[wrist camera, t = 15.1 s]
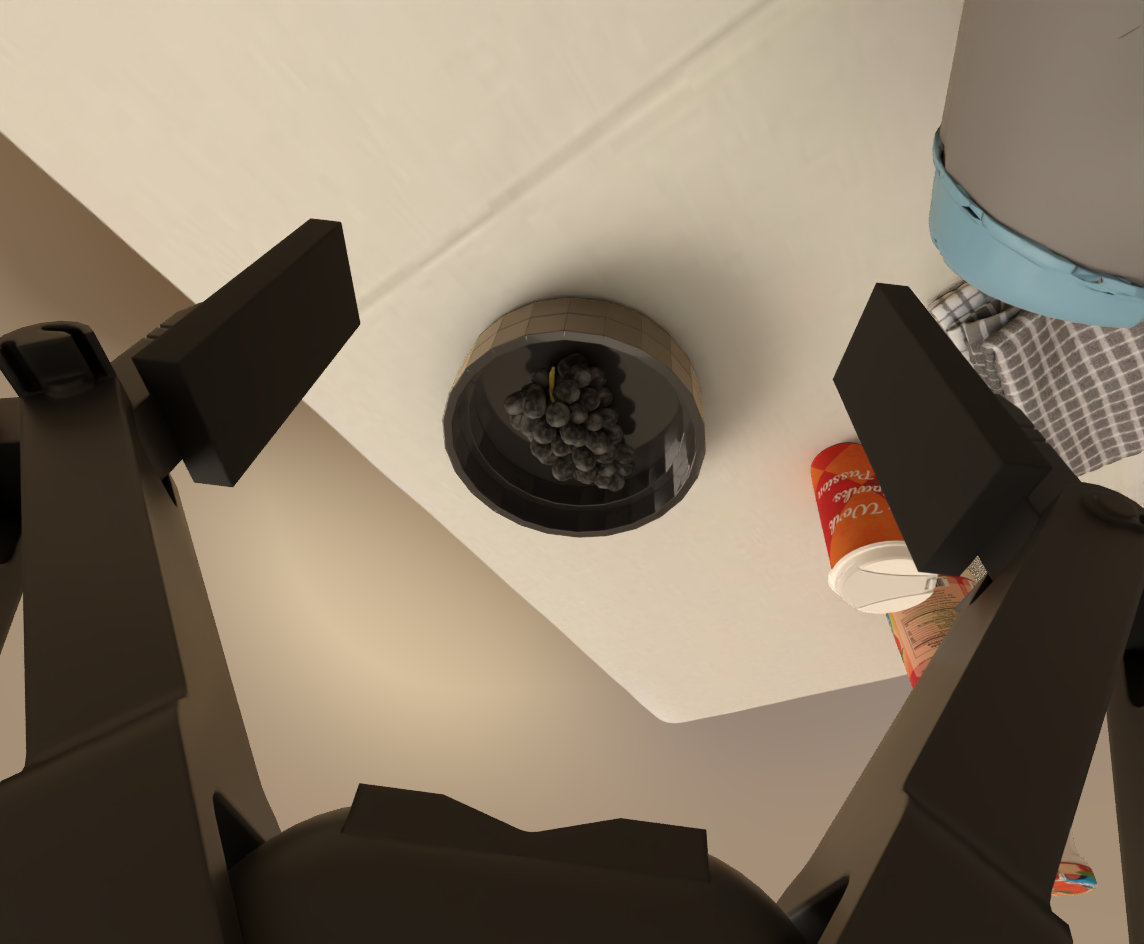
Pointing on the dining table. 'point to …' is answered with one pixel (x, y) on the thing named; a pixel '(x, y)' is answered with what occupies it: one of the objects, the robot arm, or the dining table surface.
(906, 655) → the fruit juice
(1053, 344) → the towel
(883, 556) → the paper cup
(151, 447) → the robot arm
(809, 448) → the dining table surface
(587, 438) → the fruit
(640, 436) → the bowl
